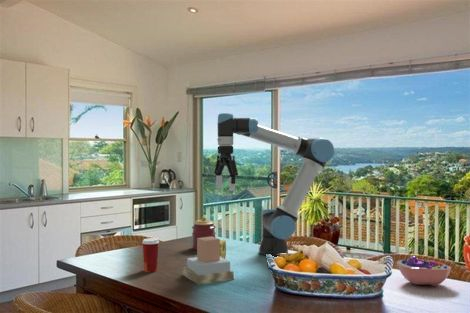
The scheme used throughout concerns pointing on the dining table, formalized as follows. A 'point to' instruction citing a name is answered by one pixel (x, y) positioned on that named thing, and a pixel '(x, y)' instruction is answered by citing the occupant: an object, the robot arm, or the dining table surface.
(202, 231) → the canister
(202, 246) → the terracotta block
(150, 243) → the paper cup
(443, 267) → the cell model
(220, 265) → the tower top
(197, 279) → the tower base
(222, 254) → the cheese
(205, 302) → the dining table surface
